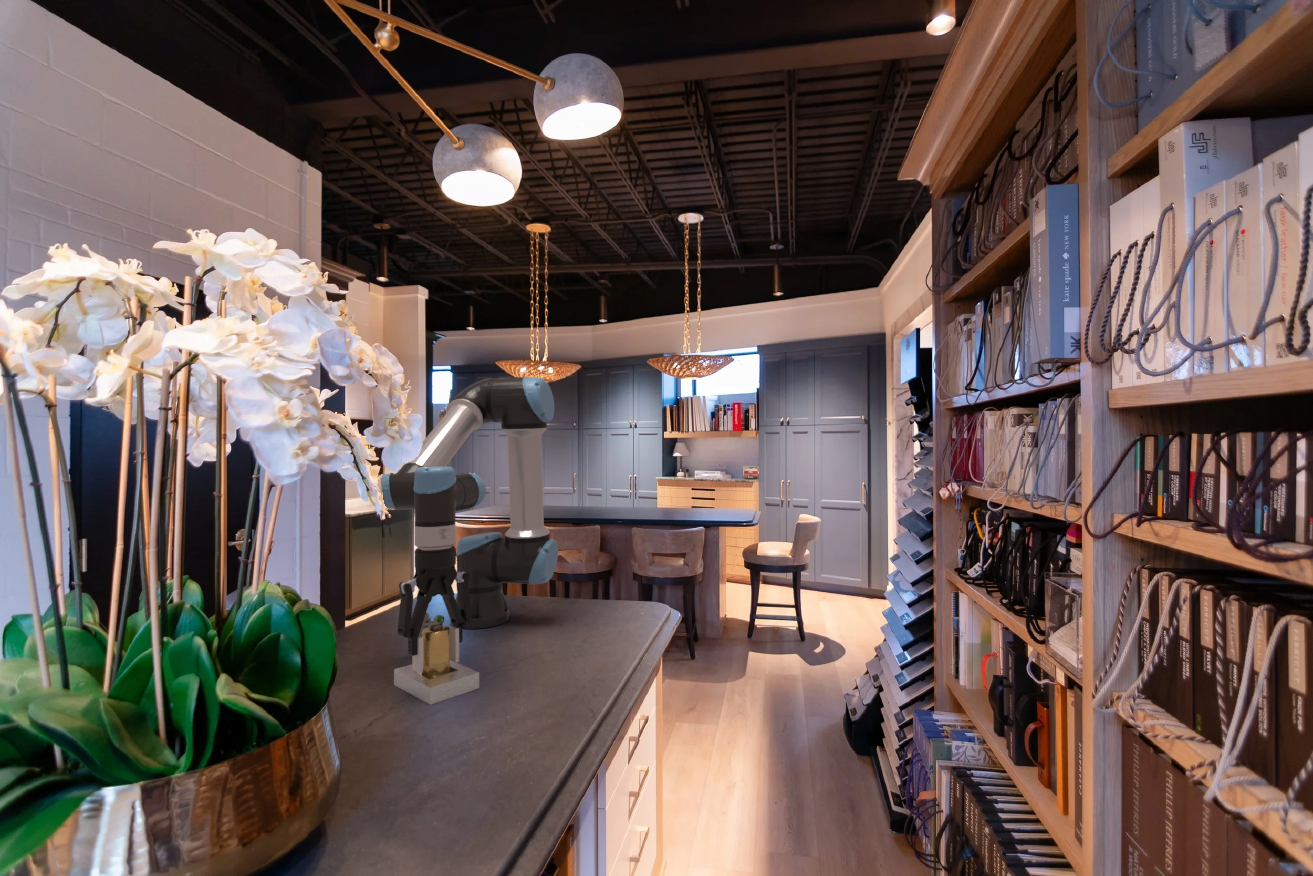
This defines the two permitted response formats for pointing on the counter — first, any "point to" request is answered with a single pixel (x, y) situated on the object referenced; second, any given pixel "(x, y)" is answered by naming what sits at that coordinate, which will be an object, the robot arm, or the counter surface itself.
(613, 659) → the counter surface
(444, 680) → the housing
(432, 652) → the brass capped cylinder
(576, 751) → the counter surface
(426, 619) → the mechanical component
